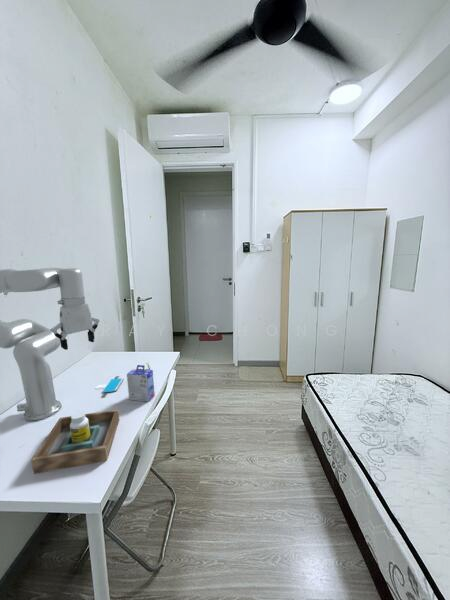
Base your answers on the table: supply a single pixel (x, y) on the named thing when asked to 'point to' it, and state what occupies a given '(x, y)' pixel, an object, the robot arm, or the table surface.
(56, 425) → the walled box
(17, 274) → the robot arm
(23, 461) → the table surface
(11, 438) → the table surface
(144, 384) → the ink cartridge box
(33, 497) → the table surface
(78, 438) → the supplement bottle
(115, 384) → the blue flat piece
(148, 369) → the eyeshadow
